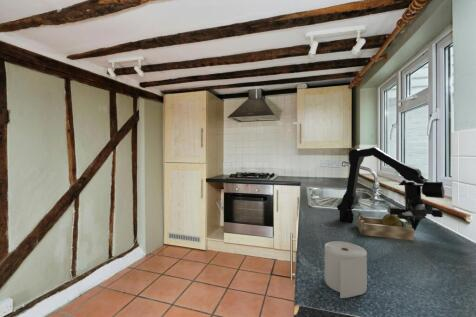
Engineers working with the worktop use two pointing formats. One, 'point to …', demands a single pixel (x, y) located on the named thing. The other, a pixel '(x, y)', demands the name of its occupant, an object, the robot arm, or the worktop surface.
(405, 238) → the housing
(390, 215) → the potato
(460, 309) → the worktop surface
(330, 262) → the toilet tissue
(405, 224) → the pale green block
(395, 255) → the worktop surface
